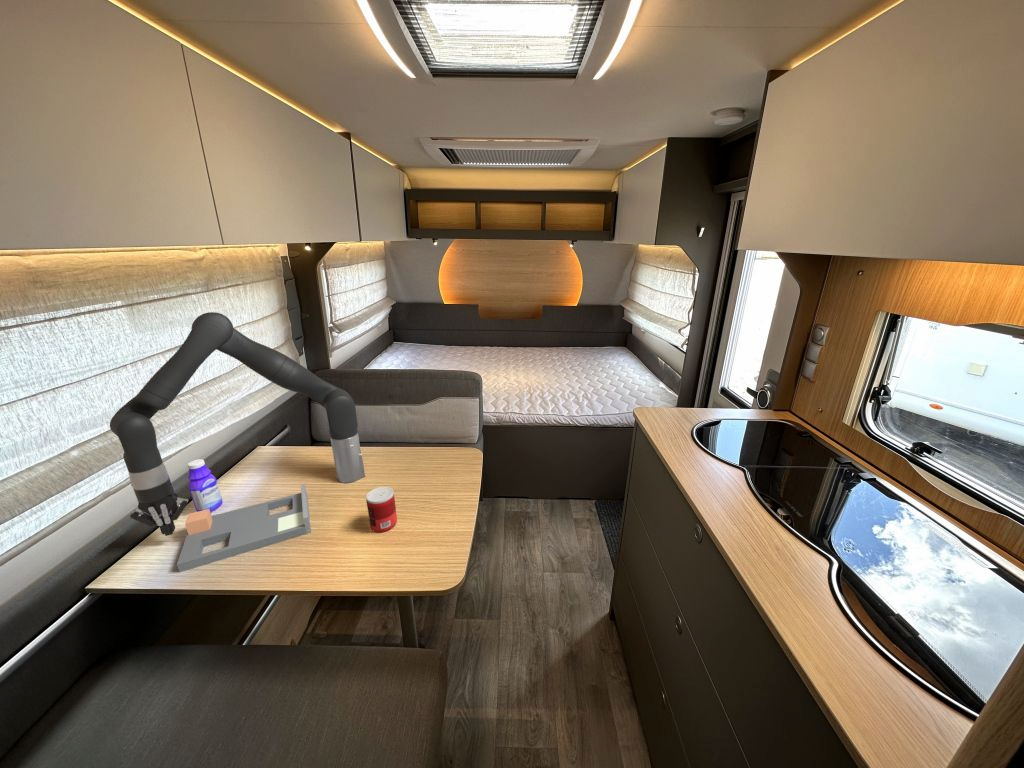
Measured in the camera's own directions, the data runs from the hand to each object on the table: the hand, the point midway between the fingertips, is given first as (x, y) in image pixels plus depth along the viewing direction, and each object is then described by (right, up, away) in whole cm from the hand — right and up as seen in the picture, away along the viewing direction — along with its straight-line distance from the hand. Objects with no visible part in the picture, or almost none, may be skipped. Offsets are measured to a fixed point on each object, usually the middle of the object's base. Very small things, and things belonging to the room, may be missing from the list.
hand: (169, 533), depth 113 cm
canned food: (+59, 0, +8) cm, 60 cm away
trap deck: (+19, -1, +6) cm, 20 cm away
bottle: (0, +2, +16) cm, 16 cm away
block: (+6, 0, +3) cm, 7 cm away
